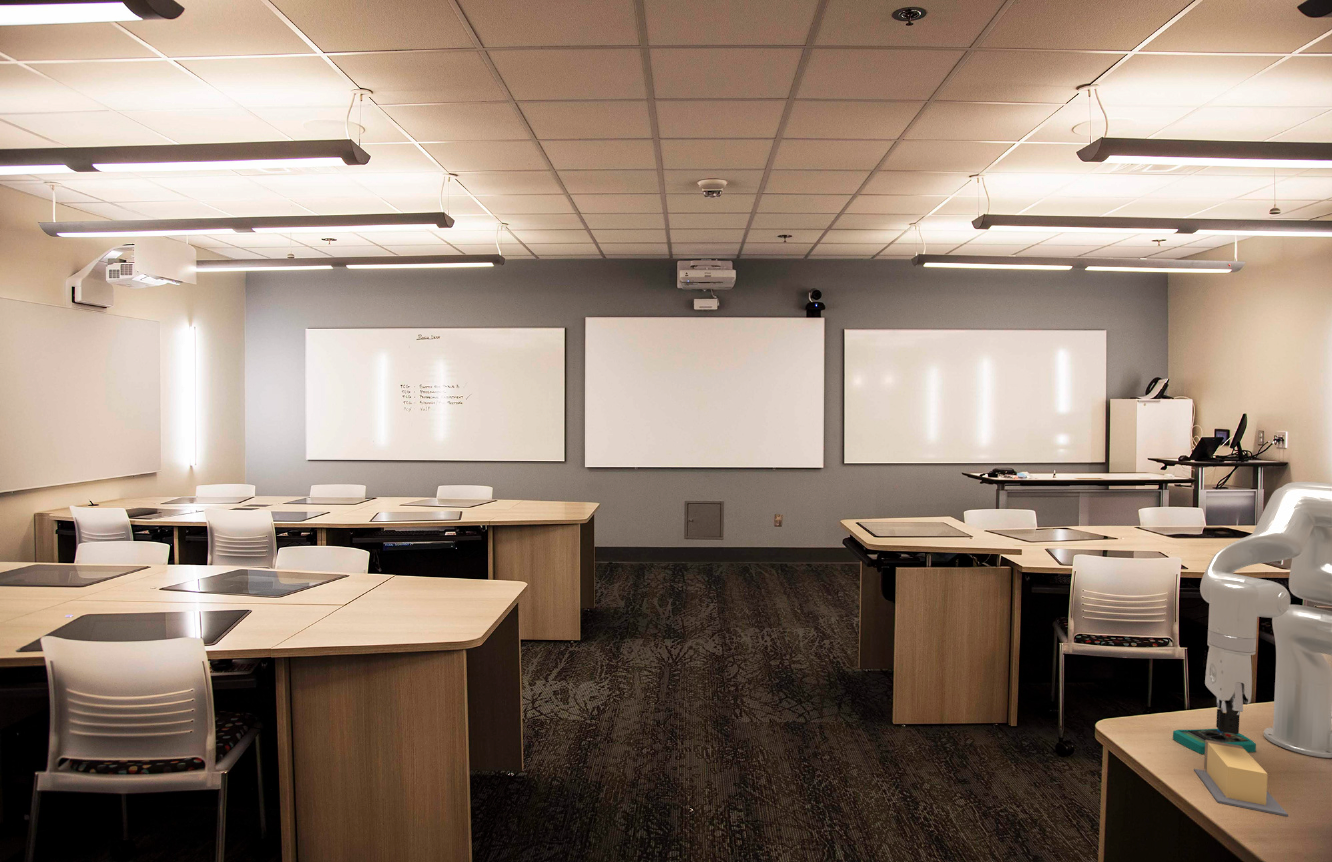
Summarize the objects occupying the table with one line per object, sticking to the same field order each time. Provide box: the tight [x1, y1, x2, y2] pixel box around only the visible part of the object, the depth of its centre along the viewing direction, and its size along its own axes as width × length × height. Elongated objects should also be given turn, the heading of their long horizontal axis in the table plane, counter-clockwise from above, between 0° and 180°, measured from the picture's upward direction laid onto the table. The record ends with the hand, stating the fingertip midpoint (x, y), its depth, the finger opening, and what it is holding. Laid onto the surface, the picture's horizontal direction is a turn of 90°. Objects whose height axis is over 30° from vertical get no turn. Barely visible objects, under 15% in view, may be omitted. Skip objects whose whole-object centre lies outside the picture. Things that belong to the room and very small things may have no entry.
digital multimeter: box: [1172, 728, 1257, 755], centre depth 151 cm, size 7×15×3 cm, turn 98°
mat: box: [1193, 768, 1289, 818], centre depth 132 cm, size 10×13×1 cm
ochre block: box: [1203, 740, 1268, 805], centre depth 133 cm, size 6×6×12 cm
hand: (1227, 730), depth 137 cm, fingers closed
